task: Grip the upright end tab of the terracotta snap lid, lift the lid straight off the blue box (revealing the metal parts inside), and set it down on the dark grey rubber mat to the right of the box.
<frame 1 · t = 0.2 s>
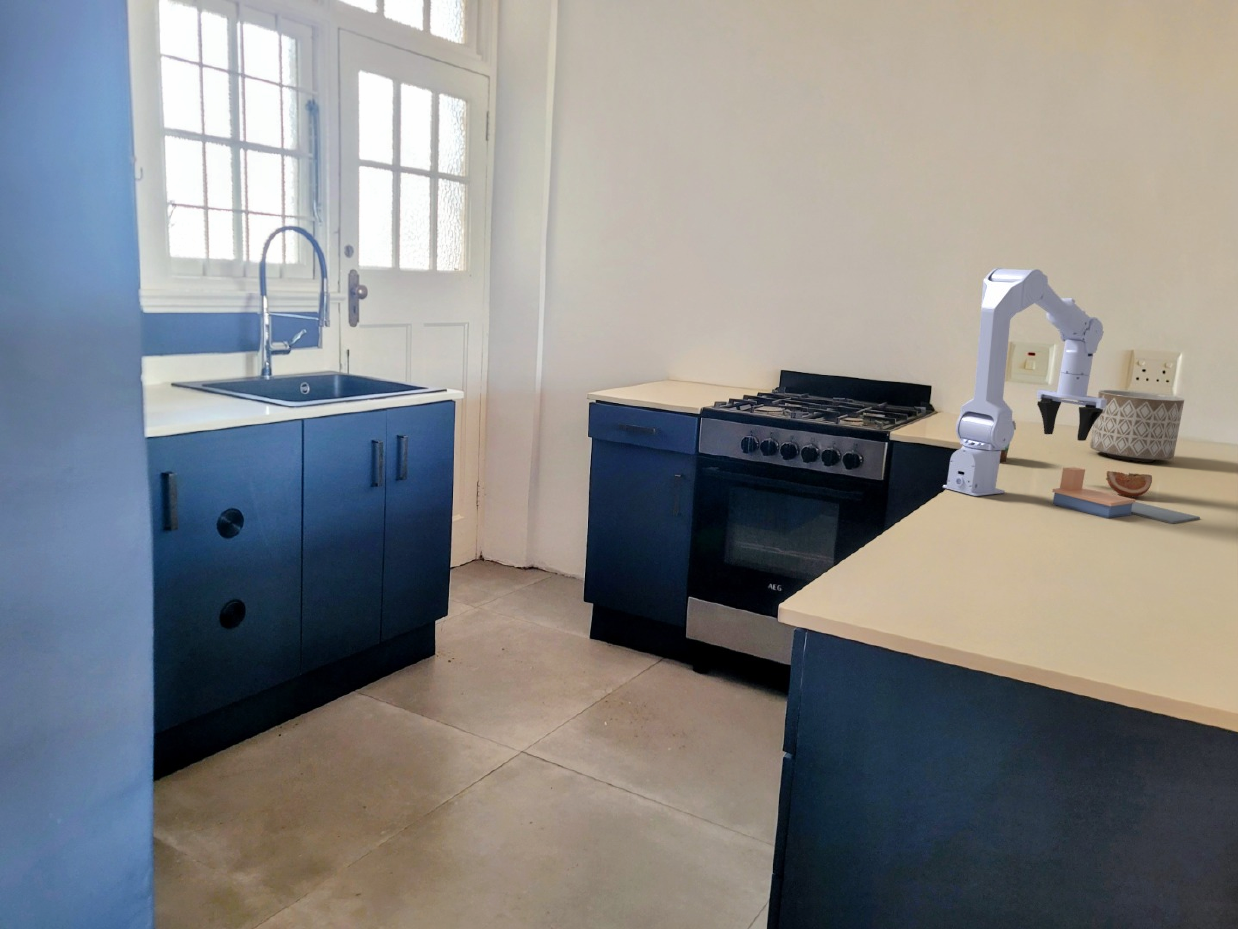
hand: (1064, 437, 201), 10 cm above the counter, fingers open, 7 cm apart
mat: (1150, 512, 179), on the counter
blue box: (1091, 509, 178), on the counter
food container: (997, 460, 228), on the counter
planter: (1129, 458, 244), on the counter
lid: (1093, 497, 178), point 2 cm above the counter, touching blue box
fruit slice: (1125, 496, 194), on the counter
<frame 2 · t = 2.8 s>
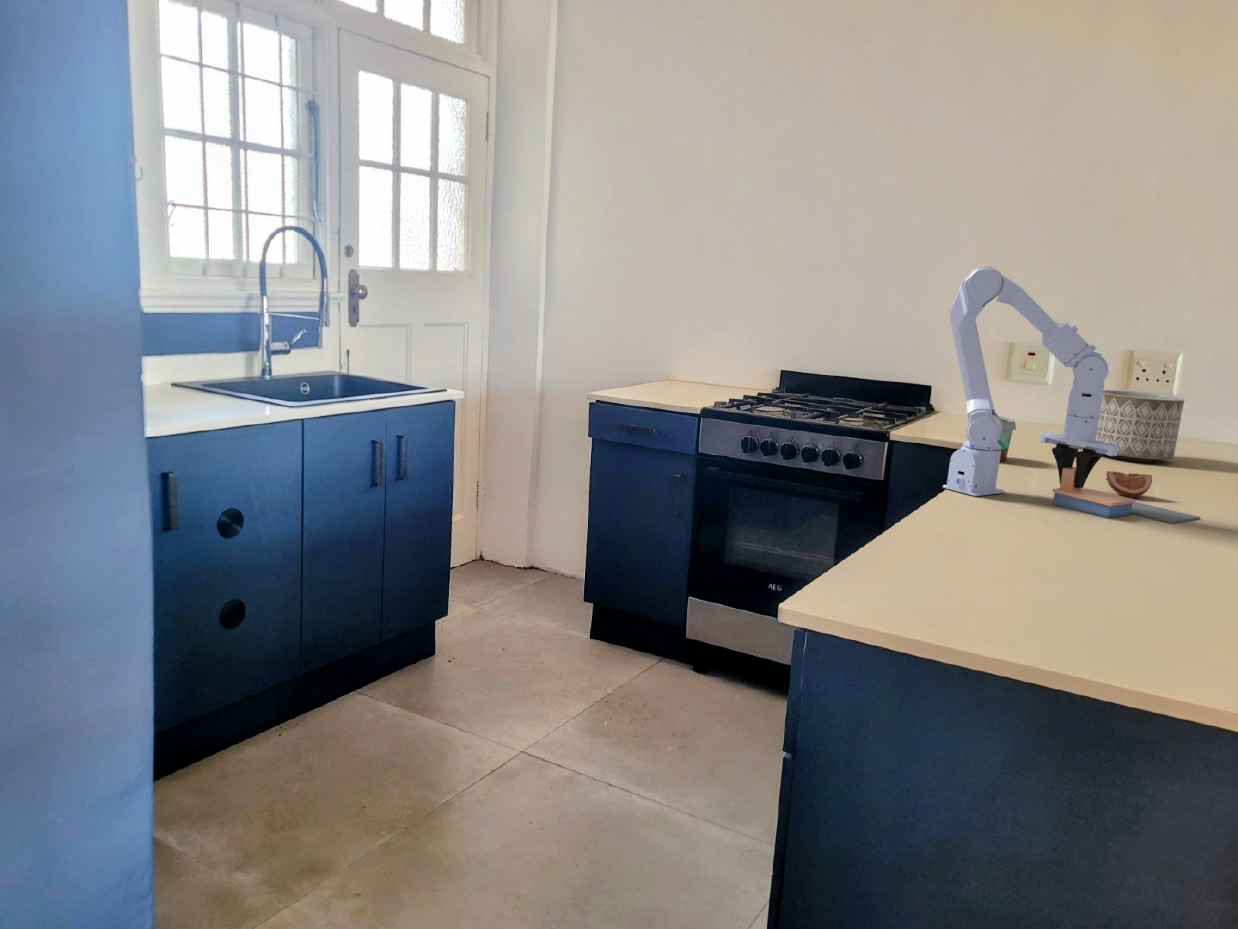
hand: (1071, 485, 181), 4 cm above the counter, fingers closed on lid, 2 cm apart
lid: (1093, 497, 178), point 2 cm above the counter, touching gripper, blue box
everything else where it was.
when the fingers open (4 cm above the counter, at t = 6.0 s): lid stays where it is, resting on mat.
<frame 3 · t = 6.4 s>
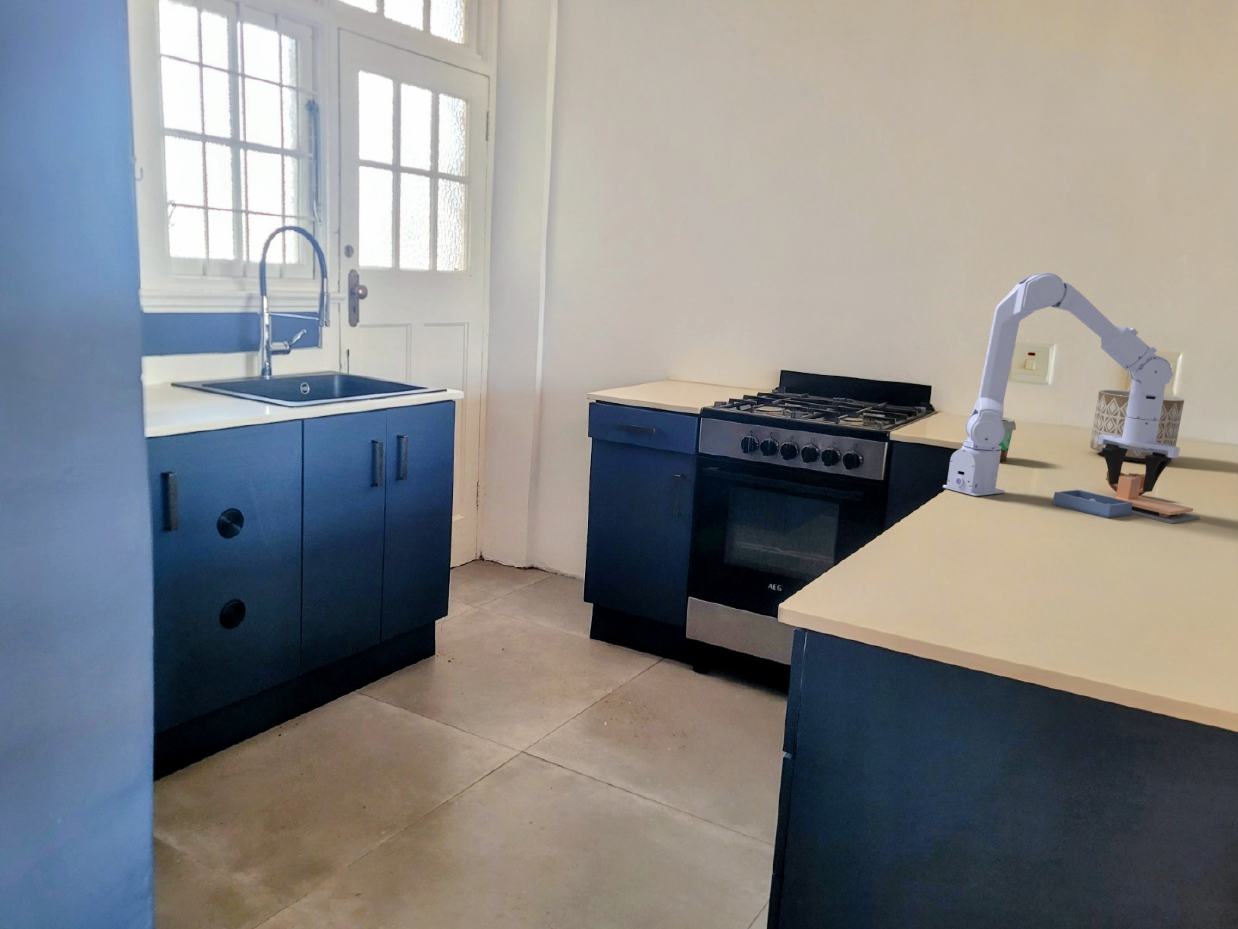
hand: (1130, 487, 182), 4 cm above the counter, fingers open, 6 cm apart
lid: (1150, 505, 179), point 1 cm above the counter, touching mat
everything else where it was.
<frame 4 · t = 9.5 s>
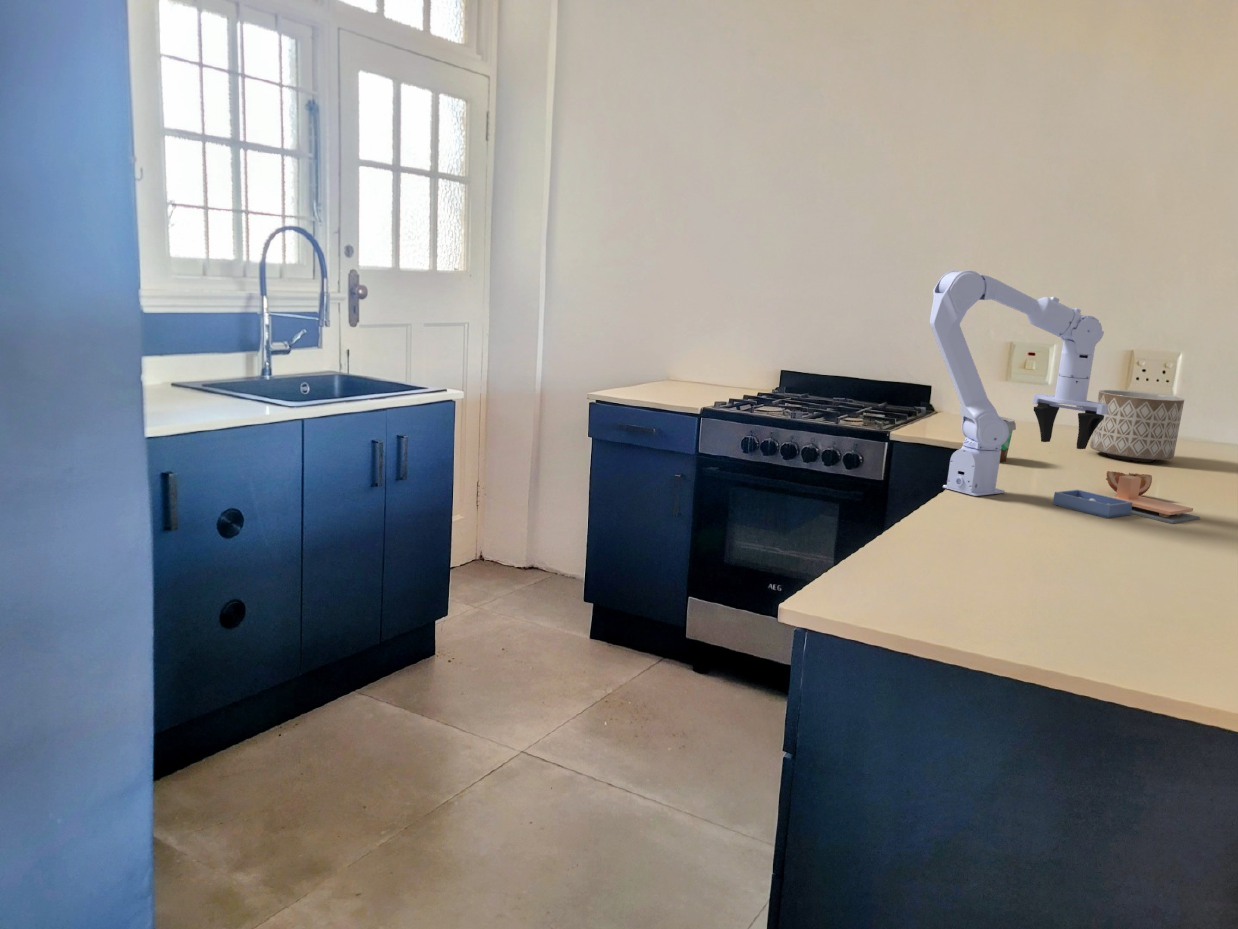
hand: (1062, 445, 187), 10 cm above the counter, fingers open, 7 cm apart
nothing on the counter moved.
at the end: lid inside the target area on the mat (0.3 cm from its centre), point 1.3 cm above the mat's base; lid touching mat; lid tilted 0° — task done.
